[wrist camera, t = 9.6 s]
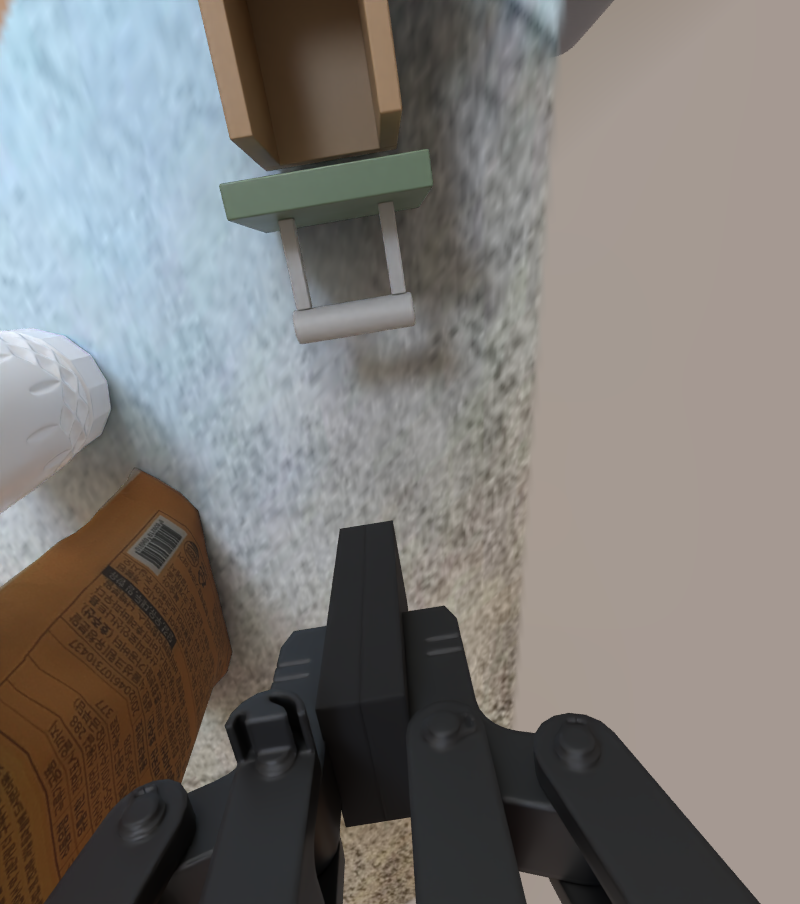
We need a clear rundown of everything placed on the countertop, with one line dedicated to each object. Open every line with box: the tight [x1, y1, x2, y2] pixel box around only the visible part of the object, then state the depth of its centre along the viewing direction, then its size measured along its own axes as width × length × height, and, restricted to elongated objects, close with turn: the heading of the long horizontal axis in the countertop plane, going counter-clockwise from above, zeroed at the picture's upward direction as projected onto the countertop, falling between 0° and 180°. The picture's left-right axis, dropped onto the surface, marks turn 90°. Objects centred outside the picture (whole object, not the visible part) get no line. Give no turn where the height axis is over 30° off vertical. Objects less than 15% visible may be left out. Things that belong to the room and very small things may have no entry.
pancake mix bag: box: [0, 468, 232, 904], centre depth 19 cm, size 7×19×28 cm, turn 6°
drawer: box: [198, 0, 433, 344], centre depth 21 cm, size 18×7×7 cm, turn 9°
